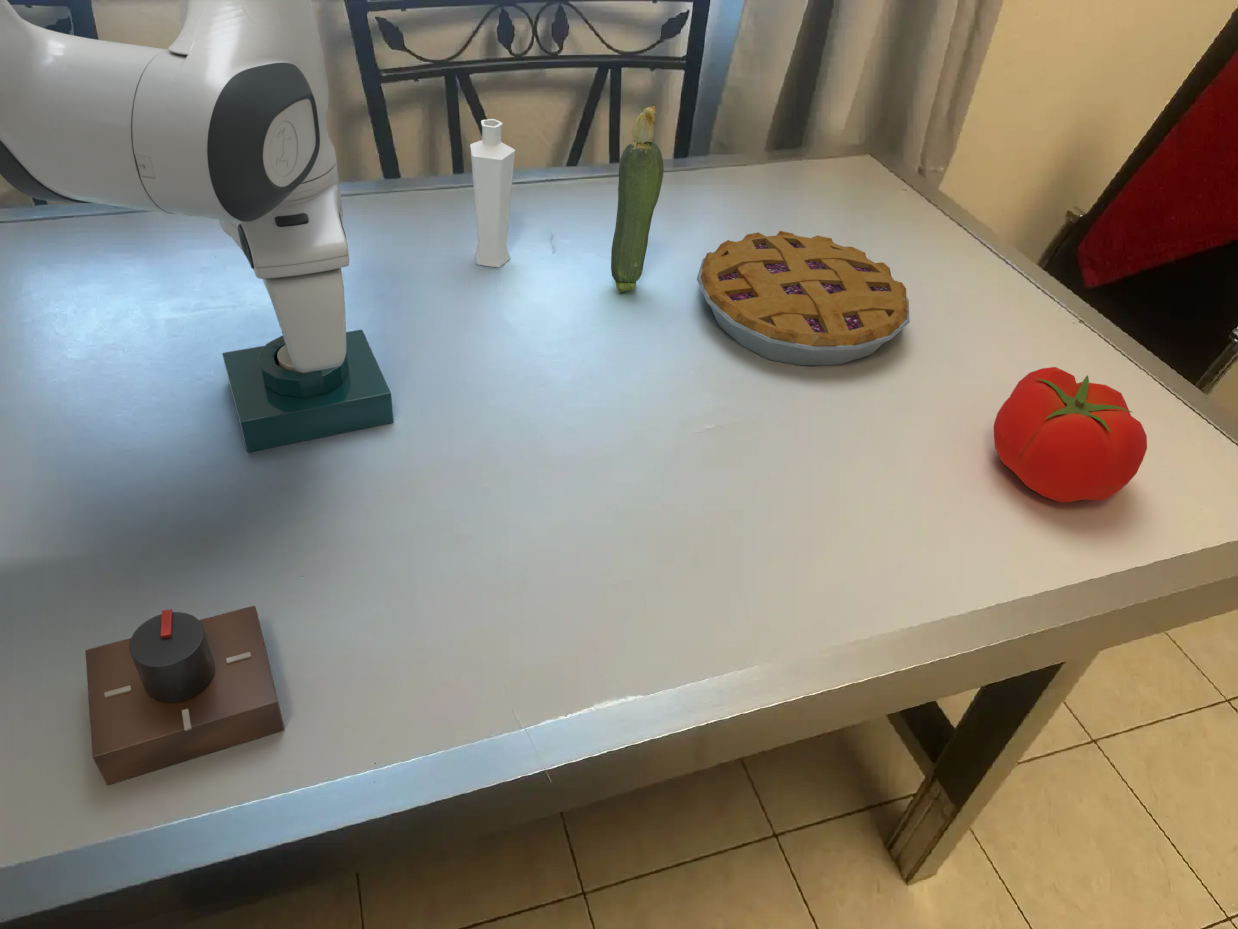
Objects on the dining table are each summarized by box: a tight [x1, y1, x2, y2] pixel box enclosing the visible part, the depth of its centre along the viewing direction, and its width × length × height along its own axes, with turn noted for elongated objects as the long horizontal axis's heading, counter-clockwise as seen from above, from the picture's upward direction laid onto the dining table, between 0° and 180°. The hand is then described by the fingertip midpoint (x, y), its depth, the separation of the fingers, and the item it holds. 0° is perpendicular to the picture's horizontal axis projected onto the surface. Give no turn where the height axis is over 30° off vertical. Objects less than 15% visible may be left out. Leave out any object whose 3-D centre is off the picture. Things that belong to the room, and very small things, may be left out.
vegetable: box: [610, 105, 665, 295], centre depth 95 cm, size 4×4×20 cm
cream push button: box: [277, 345, 298, 372], centre depth 80 cm, size 4×4×2 cm
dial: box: [129, 608, 215, 703], centre depth 56 cm, size 4×4×4 cm
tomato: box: [993, 366, 1148, 504], centre depth 82 cm, size 13×12×8 cm
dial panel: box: [85, 605, 286, 786], centre depth 59 cm, size 10×8×3 cm
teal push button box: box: [221, 329, 395, 453], centre depth 81 cm, size 12×10×5 cm
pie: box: [696, 230, 910, 367], centre depth 99 cm, size 22×22×5 cm
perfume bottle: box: [469, 118, 516, 268], centre depth 99 cm, size 5×4×15 cm
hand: (303, 352), depth 79 cm, fingers closed, pressing on cream push button
